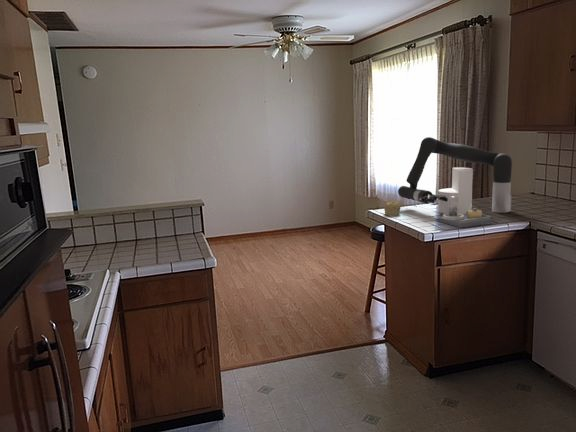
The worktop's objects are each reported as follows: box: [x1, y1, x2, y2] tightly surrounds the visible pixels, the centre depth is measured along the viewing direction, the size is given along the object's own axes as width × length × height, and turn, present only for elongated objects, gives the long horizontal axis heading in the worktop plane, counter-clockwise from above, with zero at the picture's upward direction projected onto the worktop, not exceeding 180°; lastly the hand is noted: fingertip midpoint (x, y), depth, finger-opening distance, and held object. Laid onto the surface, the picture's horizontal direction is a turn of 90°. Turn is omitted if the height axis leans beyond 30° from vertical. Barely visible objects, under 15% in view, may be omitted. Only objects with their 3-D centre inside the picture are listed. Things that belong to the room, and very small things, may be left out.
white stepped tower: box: [437, 167, 474, 214], centre depth 276 cm, size 19×19×25 cm
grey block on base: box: [446, 196, 460, 217], centre depth 251 cm, size 7×7×12 cm
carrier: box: [437, 207, 493, 228], centre depth 250 cm, size 20×18×8 cm
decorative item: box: [383, 201, 402, 217], centre depth 278 cm, size 10×10×10 cm
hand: (440, 200), depth 260 cm, fingers open, 8 cm apart
